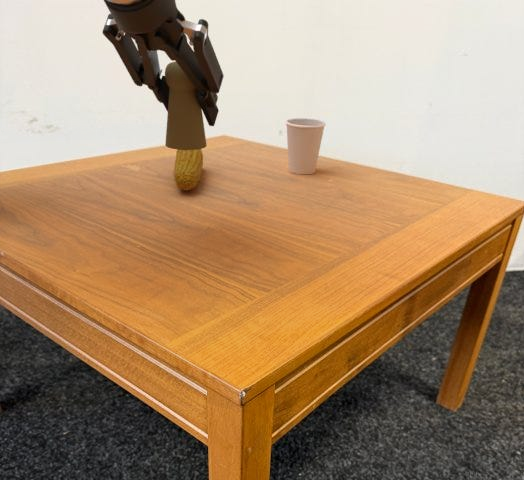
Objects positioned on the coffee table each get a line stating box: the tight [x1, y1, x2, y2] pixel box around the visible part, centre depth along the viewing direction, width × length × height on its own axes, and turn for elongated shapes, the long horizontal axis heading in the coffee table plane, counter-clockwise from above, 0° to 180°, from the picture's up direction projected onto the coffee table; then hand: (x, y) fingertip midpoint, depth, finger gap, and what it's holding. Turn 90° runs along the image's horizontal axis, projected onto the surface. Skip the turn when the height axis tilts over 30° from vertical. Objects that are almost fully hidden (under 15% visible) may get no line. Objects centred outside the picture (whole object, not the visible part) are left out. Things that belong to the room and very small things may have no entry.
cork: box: [164, 61, 207, 151], centre depth 78 cm, size 6×6×11 cm
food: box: [173, 149, 204, 191], centre depth 108 cm, size 21×6×6 cm, turn 5°
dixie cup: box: [284, 117, 327, 175], centre depth 116 cm, size 8×8×10 cm
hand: (195, 115), depth 82 cm, fingers closed on cork, 5 cm apart
